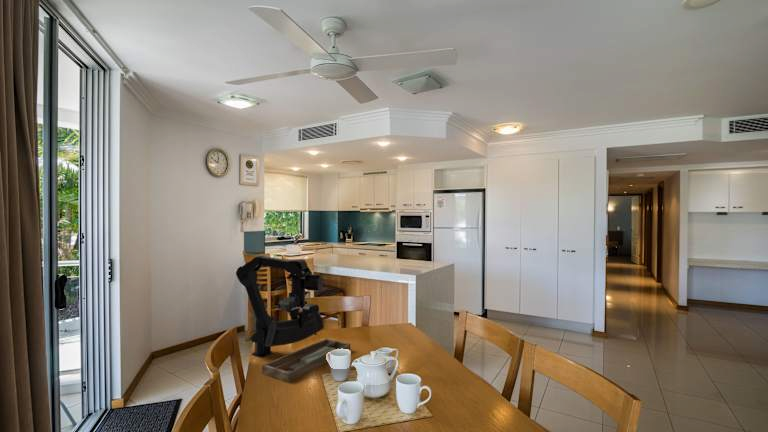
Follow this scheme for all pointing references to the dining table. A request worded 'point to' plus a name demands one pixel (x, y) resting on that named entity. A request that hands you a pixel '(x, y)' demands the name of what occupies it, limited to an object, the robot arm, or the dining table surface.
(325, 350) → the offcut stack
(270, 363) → the tray
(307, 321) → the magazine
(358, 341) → the dining table surface
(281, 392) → the dining table surface
